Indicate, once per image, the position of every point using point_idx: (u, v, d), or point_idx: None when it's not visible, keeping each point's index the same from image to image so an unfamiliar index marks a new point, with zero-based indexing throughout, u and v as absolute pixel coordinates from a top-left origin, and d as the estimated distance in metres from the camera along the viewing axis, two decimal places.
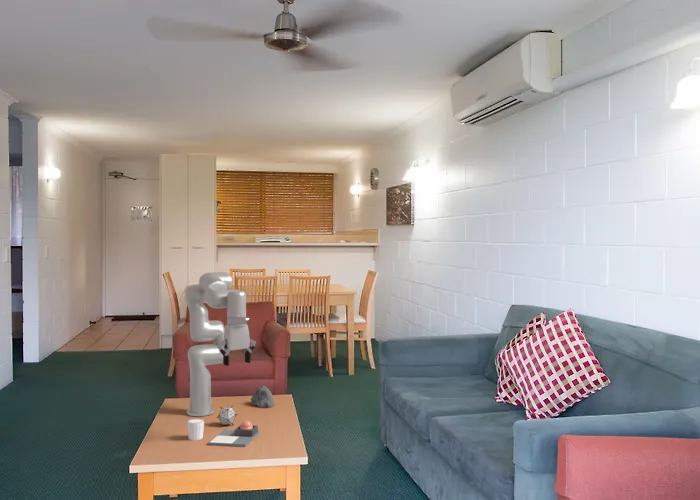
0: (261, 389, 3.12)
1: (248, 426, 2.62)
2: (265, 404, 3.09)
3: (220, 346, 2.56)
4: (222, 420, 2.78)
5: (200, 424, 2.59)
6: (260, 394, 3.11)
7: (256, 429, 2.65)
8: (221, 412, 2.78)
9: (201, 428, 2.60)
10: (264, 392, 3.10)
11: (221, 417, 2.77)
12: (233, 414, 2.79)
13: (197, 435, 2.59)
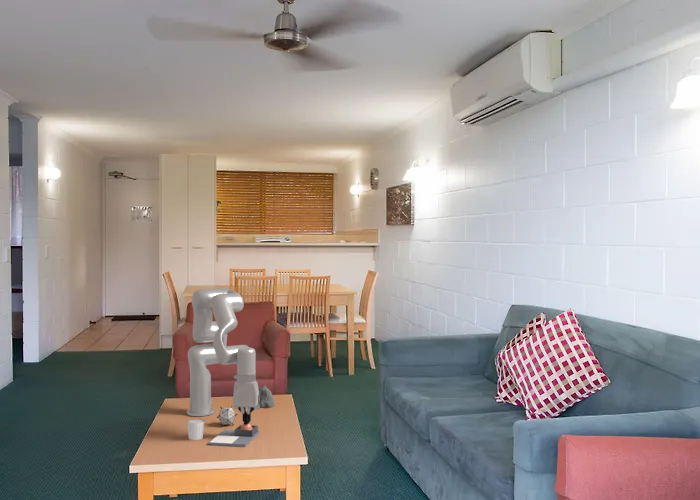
0: (261, 389, 3.12)
1: (248, 428, 2.62)
2: (265, 404, 3.09)
3: None
4: (222, 420, 2.78)
5: (200, 424, 2.59)
6: (260, 394, 3.11)
7: (256, 429, 2.65)
8: (221, 412, 2.78)
9: (201, 428, 2.60)
10: (264, 392, 3.10)
11: (221, 417, 2.77)
12: (233, 414, 2.79)
13: (197, 435, 2.59)
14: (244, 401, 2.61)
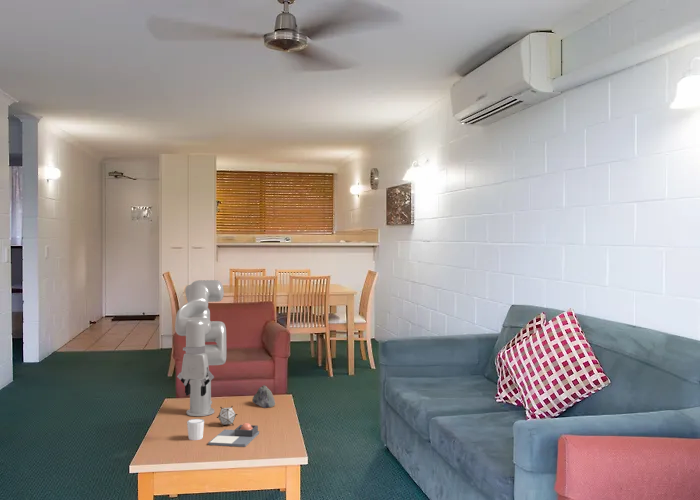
0: (262, 389, 3.12)
1: (248, 428, 2.62)
2: (265, 404, 3.10)
3: None
4: (222, 420, 2.78)
5: (200, 424, 2.59)
6: (261, 394, 3.12)
7: (256, 429, 2.65)
8: (221, 412, 2.78)
9: (201, 428, 2.60)
10: (265, 392, 3.10)
11: (221, 417, 2.77)
12: (233, 414, 2.79)
13: (197, 435, 2.59)
14: (193, 373, 2.59)
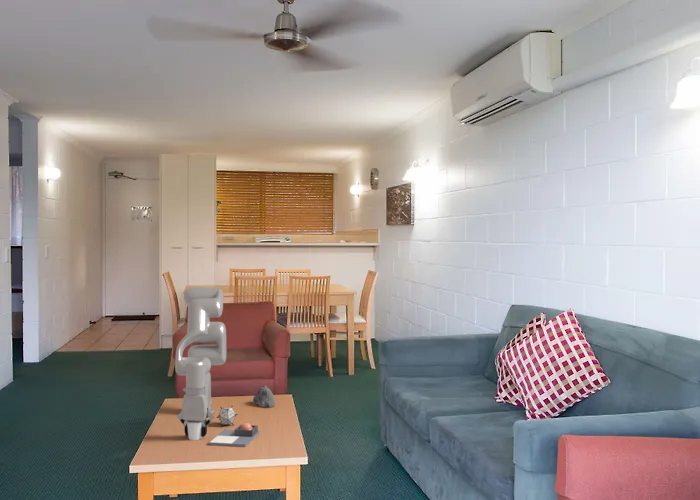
0: (262, 389, 3.13)
1: (248, 428, 2.62)
2: (266, 404, 3.10)
3: None
4: (222, 420, 2.78)
5: (200, 424, 2.59)
6: (261, 394, 3.12)
7: (256, 429, 2.65)
8: (221, 412, 2.78)
9: None
10: (265, 392, 3.10)
11: (221, 417, 2.77)
12: (233, 414, 2.79)
13: (197, 435, 2.59)
14: (193, 414, 2.59)
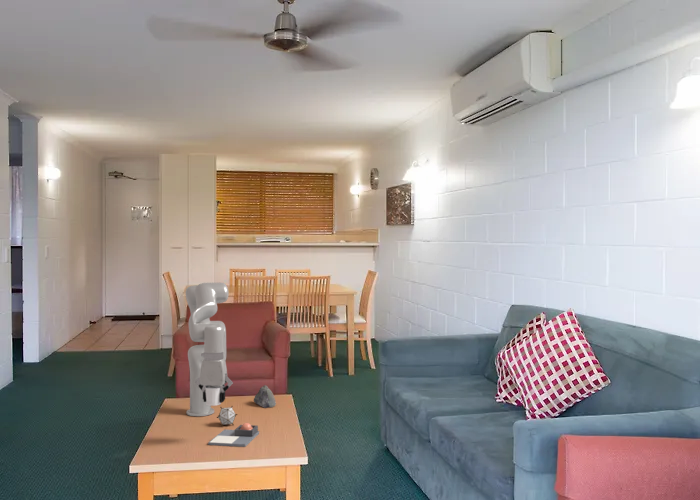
0: (263, 389, 3.13)
1: (248, 428, 2.62)
2: (266, 404, 3.10)
3: None
4: (222, 420, 2.78)
5: (218, 389, 2.56)
6: (261, 394, 3.12)
7: (256, 429, 2.65)
8: (221, 412, 2.78)
9: (219, 393, 2.56)
10: (265, 392, 3.10)
11: (221, 417, 2.77)
12: (233, 414, 2.79)
13: (215, 400, 2.55)
14: (211, 379, 2.55)
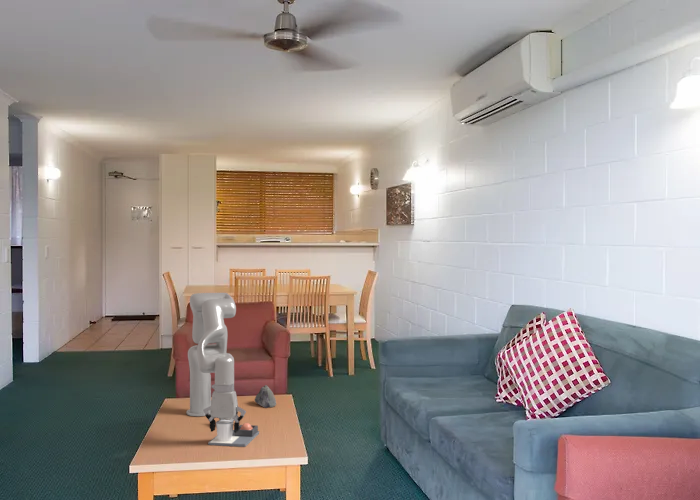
0: (263, 389, 3.13)
1: (248, 428, 2.62)
2: (266, 404, 3.10)
3: None
4: None
5: (230, 425, 2.54)
6: (262, 394, 3.12)
7: (256, 429, 2.65)
8: None
9: (231, 429, 2.55)
10: (266, 392, 3.11)
11: None
12: None
13: (227, 436, 2.54)
14: (222, 412, 2.53)
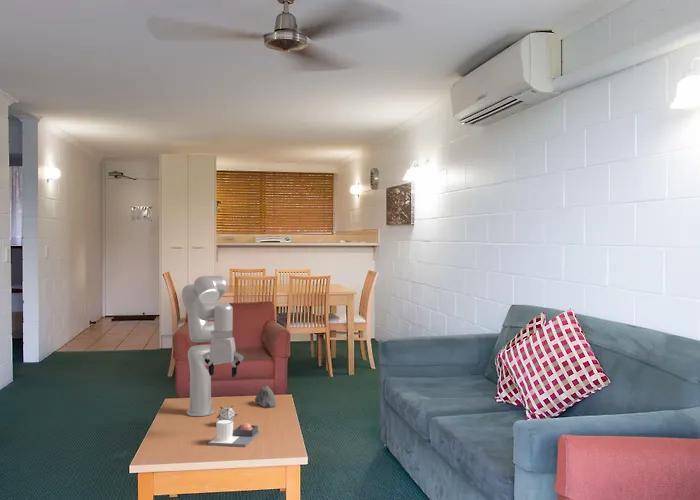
0: (263, 389, 3.13)
1: (248, 428, 2.62)
2: (266, 404, 3.10)
3: None
4: None
5: (230, 425, 2.54)
6: (262, 394, 3.12)
7: (256, 429, 2.65)
8: (221, 412, 2.78)
9: (231, 429, 2.55)
10: (266, 392, 3.11)
11: (221, 417, 2.77)
12: (233, 414, 2.79)
13: (227, 436, 2.54)
14: (220, 357, 2.64)
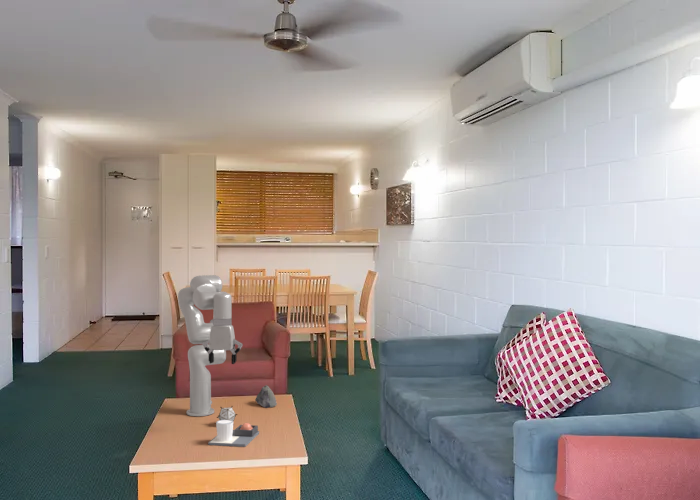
0: (264, 389, 3.13)
1: (248, 428, 2.62)
2: (267, 404, 3.10)
3: None
4: None
5: (230, 425, 2.54)
6: (262, 394, 3.12)
7: (256, 429, 2.65)
8: (221, 412, 2.78)
9: (230, 429, 2.55)
10: (266, 392, 3.11)
11: (221, 417, 2.77)
12: (233, 414, 2.79)
13: (227, 436, 2.54)
14: (220, 344, 2.69)
